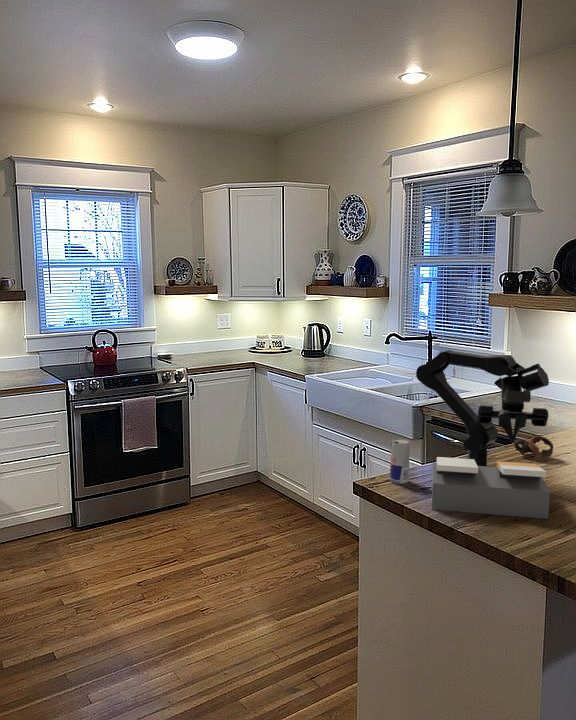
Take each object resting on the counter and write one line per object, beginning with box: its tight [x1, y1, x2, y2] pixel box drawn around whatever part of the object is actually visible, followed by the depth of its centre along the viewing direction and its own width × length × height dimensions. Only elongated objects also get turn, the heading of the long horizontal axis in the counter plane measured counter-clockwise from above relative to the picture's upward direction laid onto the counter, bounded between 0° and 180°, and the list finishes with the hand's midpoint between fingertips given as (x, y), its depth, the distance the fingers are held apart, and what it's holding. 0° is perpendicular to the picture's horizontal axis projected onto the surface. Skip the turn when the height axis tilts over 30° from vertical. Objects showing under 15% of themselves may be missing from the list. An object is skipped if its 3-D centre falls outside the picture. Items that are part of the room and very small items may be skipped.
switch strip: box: [431, 462, 551, 520], centre depth 169 cm, size 18×28×8 cm, turn 77°
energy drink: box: [389, 438, 411, 485], centre depth 185 cm, size 5×5×12 cm
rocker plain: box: [436, 456, 478, 473], centre depth 170 cm, size 16×10×1 cm, turn 167°
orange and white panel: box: [496, 461, 547, 478], centre depth 166 cm, size 16×10×1 cm, turn 167°
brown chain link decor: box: [513, 435, 554, 463], centre depth 209 cm, size 12×10×8 cm
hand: (512, 441), depth 178 cm, fingers closed
